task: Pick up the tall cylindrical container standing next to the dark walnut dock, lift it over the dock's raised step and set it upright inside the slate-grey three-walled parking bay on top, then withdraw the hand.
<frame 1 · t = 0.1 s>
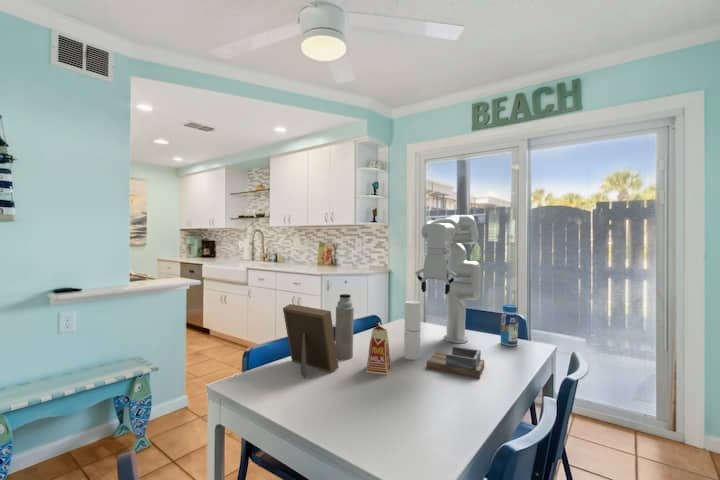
hand: (435, 292, 152), 31 cm above the table, tool pointing down, fingers open, 9 cm apart
thermos bottle: (343, 357, 162), on the table
beverage bottle: (508, 344, 187), on the table
milk carton: (378, 370, 147), on the table
photo frame: (305, 369, 146), on the table
cylindrical container: (411, 357, 163), on the table
dock: (455, 367, 151), on the table
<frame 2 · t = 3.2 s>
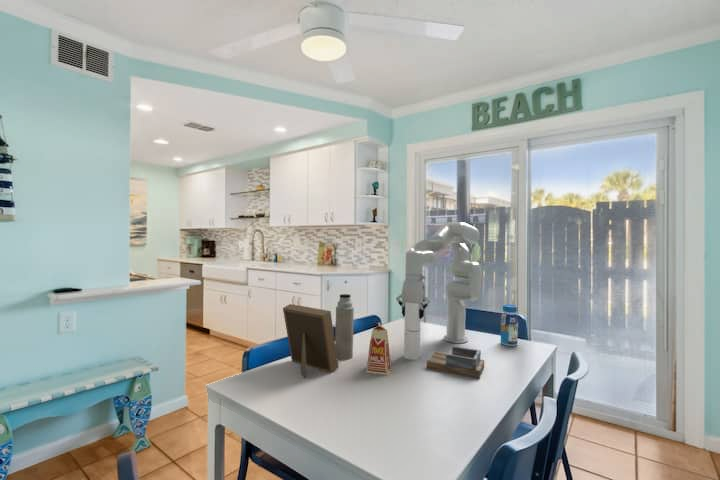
hand: (412, 316, 163), 18 cm above the table, tool pointing down, fingers closed on cylindrical container, 7 cm apart
cylindrical container: (411, 357, 163), on the table, touching gripper
everything else where it was.
when the fingers open (23 cm above the table, at t = 9.4 s): cylindrical container drops 1 cm, resting on dock.
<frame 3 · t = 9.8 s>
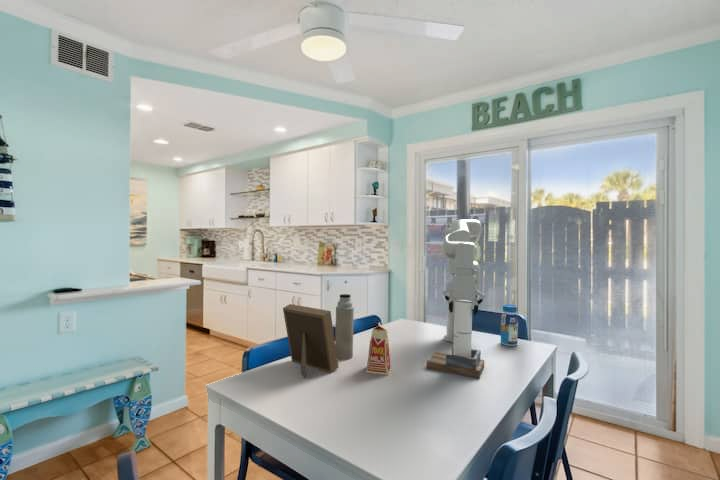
hand: (463, 313, 149), 23 cm above the table, tool pointing down, fingers open, 9 cm apart
cylindrical container: (462, 361, 150), point 3 cm above the table, touching dock
everything else where it was.
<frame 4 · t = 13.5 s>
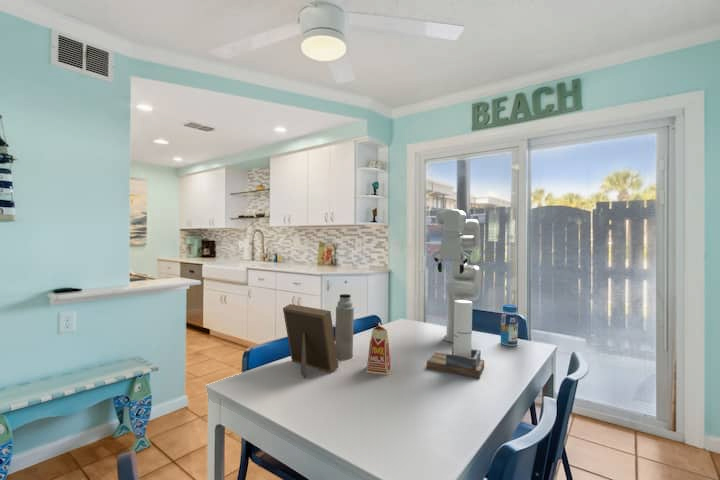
hand: (450, 272, 168), 38 cm above the table, tool pointing down, fingers open, 9 cm apart
nothing on the table moved.
at the end: cylindrical container inside the target area on the dock (0.2 cm from its centre), point 3.0 cm above the dock's base; cylindrical container tilted 0°; the gripper is holding nothing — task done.
